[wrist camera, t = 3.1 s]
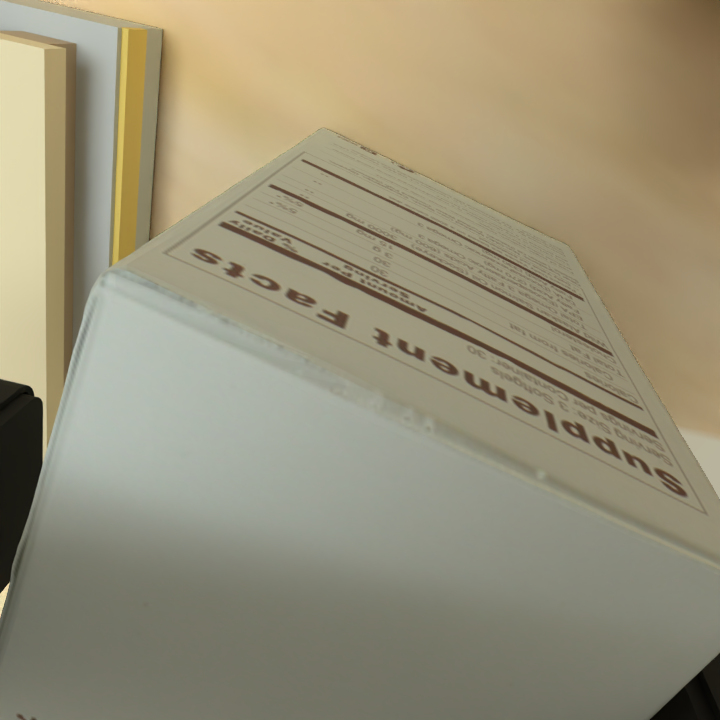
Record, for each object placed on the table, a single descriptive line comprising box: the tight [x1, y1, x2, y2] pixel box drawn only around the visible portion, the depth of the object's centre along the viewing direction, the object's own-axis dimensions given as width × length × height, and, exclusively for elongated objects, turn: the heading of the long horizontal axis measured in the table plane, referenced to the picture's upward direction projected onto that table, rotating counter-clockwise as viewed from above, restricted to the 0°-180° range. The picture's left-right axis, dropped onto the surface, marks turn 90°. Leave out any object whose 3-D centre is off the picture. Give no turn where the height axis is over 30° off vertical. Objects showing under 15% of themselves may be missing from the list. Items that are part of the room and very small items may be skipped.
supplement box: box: [0, 128, 720, 720], centre depth 13 cm, size 7×7×13 cm
